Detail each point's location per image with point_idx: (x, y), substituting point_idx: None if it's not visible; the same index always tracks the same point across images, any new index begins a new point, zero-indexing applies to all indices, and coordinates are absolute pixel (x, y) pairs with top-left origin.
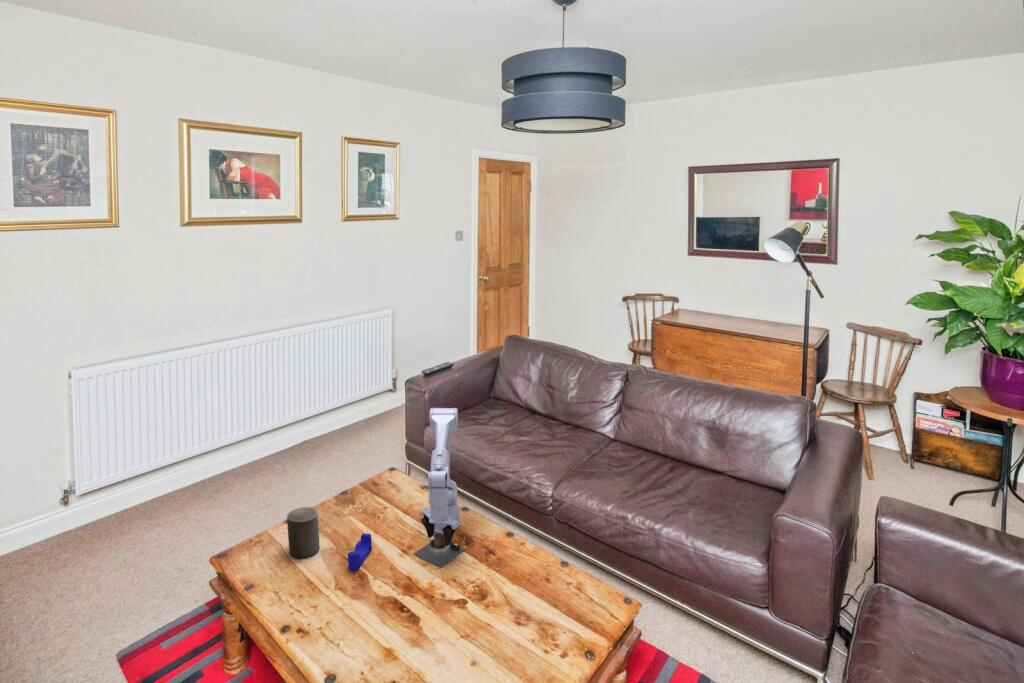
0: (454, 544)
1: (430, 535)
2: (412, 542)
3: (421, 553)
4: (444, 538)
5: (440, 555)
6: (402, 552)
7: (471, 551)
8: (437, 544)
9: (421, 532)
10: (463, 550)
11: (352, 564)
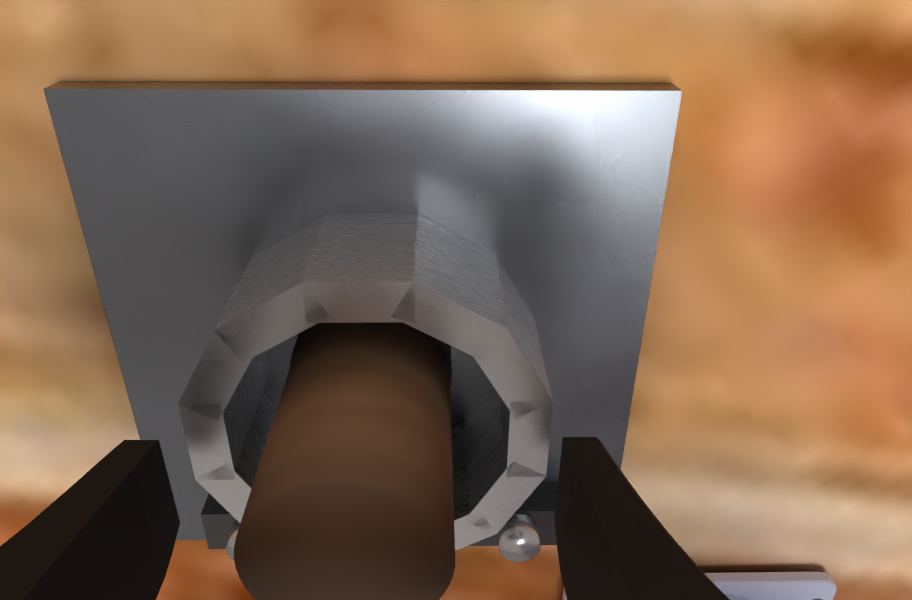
0: None
1: (569, 488)
2: (874, 295)
3: (570, 162)
4: None
5: (243, 275)
6: (898, 13)
7: None
8: (320, 391)
9: (870, 492)
10: None
11: None
